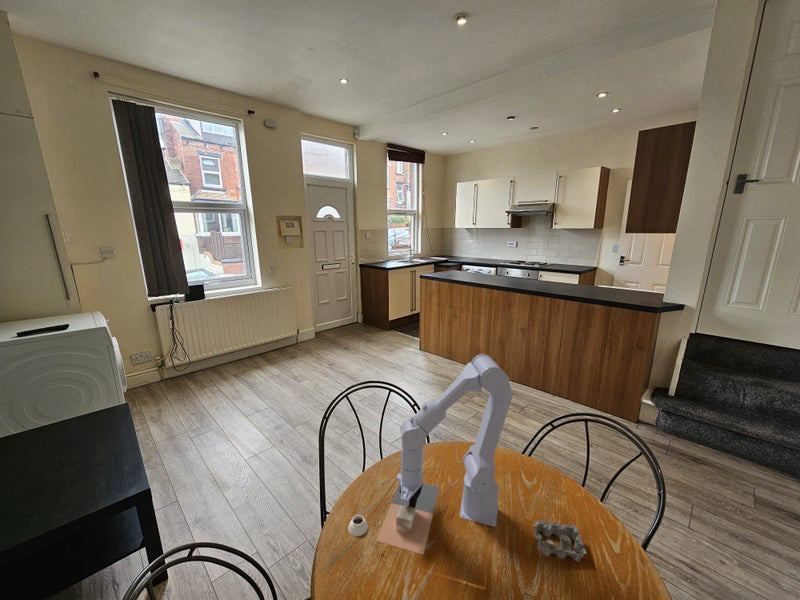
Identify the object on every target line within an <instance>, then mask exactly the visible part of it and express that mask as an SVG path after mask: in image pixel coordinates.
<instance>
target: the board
mask: <svg viewBox="0 0 800 600" xmlns="http://www.w3.org/2000/svg"><path fill="white" fill-rule="evenodd" d="M400 486H401V484H400V482H399V483H398V486H397V488H396V490H395V492H394V496H393V498H392V501H391V503H390V505H389V507H388V510H387V513H386V515H385V517H384V521H383V523H382V526H381V527H380V530H379V532H378V535H377V537H376V540H375V541H376V542H379V543H383V544H385V545H389V546H393V547H396V548H399V549H402V550H406V551H410V552H412V553H416V554H419V555H424V554H425V551H426V546H427V542H428V537H429V533H430V530H431V529H430V528H431V525H432V520H433V516H434V511H435V508H436V503H437V498H438V496H439V495H438V494H439V491H440V486H438V485H433V484H429V483H424V482H423V486H422V489H421V493H420V495H419V497H418V498H417V503H416V507H415V508H416V510H415V524H414V527H413V530H412V533H411V534H408V533H405V532H401V531H398V530H396V516H397V514H398V511H399V508H400V506H401V493H400Z"/></svg>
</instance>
